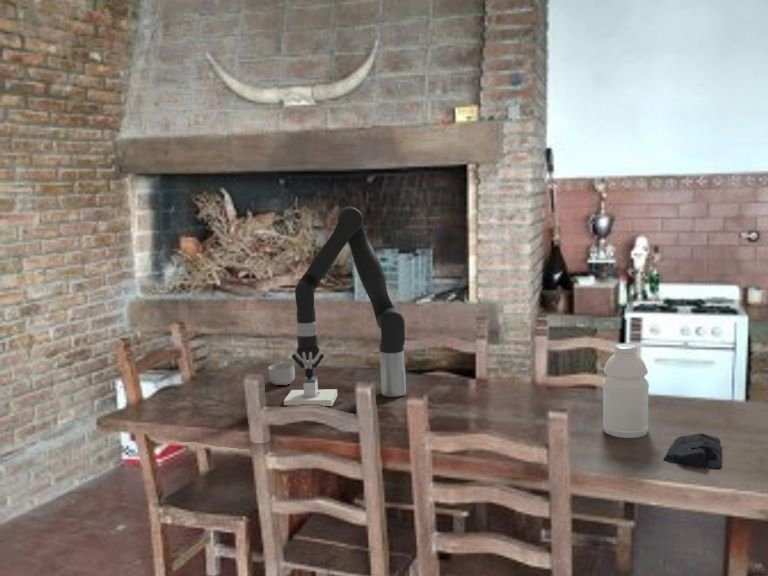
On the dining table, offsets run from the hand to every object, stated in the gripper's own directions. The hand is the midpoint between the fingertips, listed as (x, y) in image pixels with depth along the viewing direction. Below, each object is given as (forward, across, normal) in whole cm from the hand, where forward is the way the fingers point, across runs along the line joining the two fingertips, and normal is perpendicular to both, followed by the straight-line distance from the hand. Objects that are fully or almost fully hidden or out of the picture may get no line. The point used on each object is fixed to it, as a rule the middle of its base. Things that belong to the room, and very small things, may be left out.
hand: (309, 377), depth 286 cm
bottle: (+9, -109, +37) cm, 116 cm away
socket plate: (+9, 0, 0) cm, 9 cm away
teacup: (+10, +17, -26) cm, 32 cm away
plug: (+9, 0, 0) cm, 9 cm away
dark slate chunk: (+9, -125, +56) cm, 137 cm away
